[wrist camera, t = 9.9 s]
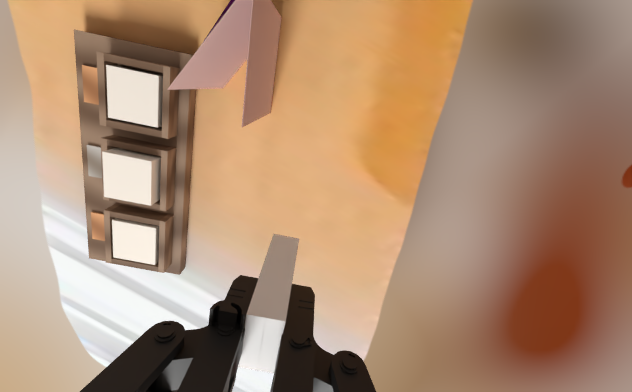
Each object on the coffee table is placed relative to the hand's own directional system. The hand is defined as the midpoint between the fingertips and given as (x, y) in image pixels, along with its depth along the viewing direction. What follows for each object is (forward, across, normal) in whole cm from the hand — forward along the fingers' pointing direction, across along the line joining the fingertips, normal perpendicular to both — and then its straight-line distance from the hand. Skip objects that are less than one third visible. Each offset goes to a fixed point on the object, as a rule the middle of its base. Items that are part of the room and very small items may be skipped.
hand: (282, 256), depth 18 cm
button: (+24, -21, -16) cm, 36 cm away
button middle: (+23, -21, -6) cm, 32 cm away
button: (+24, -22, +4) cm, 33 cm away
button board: (+26, -23, -6) cm, 36 cm away
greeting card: (+27, -7, +10) cm, 29 cm away
